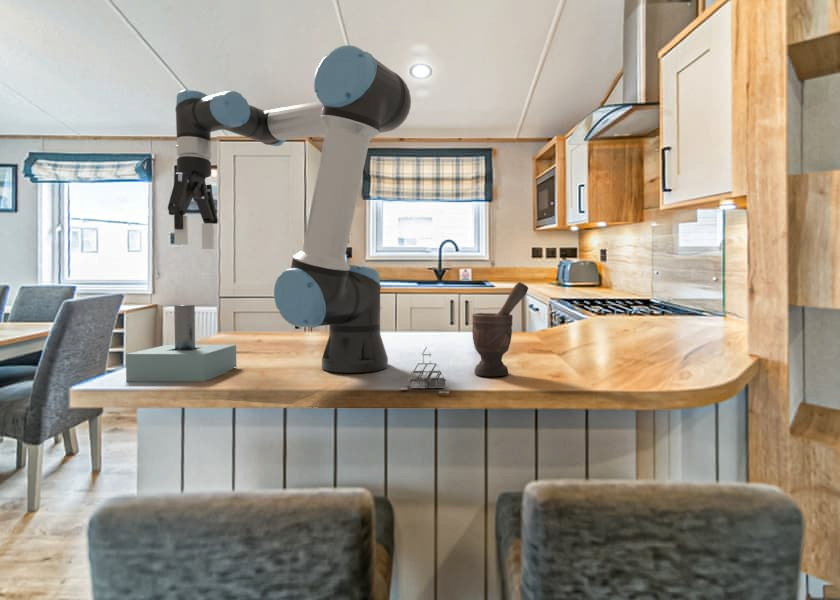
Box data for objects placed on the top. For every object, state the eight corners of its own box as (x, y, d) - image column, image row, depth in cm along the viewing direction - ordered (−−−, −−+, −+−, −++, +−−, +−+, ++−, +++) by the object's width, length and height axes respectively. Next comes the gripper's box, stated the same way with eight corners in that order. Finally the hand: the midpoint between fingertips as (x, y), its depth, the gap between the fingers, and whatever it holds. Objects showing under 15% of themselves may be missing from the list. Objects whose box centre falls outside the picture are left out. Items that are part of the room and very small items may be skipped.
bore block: (236, 368, 114) (236, 344, 114) (204, 381, 98) (204, 354, 98) (168, 368, 115) (168, 344, 115) (126, 381, 99) (125, 353, 99)
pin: (199, 368, 108) (198, 305, 108) (186, 371, 104) (185, 305, 104) (184, 367, 109) (183, 304, 109) (170, 370, 105) (169, 305, 105)
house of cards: (400, 394, 88) (400, 351, 88) (398, 384, 97) (398, 345, 96) (450, 393, 89) (450, 351, 89) (444, 383, 97) (444, 345, 97)
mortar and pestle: (523, 371, 110) (524, 282, 109) (529, 378, 101) (529, 281, 100) (471, 371, 111) (472, 282, 110) (472, 378, 102) (472, 282, 101)
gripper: (202, 171, 131) (203, 250, 132) (149, 144, 106) (150, 242, 107) (230, 170, 131) (231, 250, 132) (183, 143, 106) (184, 242, 107)
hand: (195, 246), depth 119 cm, fingers open, 13 cm apart
